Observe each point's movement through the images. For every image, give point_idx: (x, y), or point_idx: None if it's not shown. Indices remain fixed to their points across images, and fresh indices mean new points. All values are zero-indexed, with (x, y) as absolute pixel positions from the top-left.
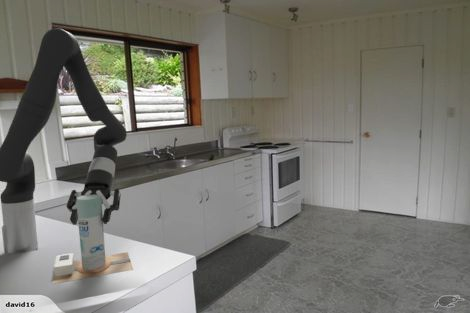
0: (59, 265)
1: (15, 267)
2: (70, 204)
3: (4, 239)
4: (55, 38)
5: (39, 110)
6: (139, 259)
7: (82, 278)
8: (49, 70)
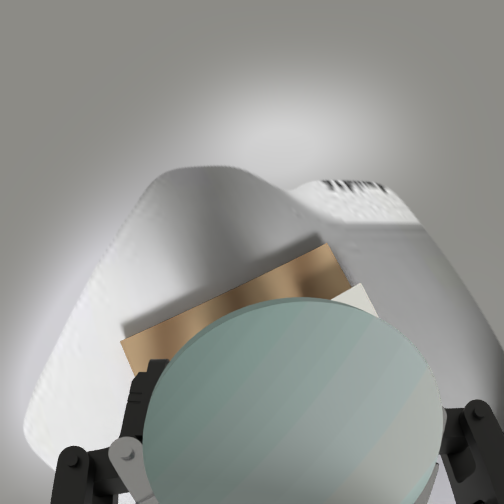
0: (352, 298)
1: (489, 363)
2: (473, 425)
3: None
4: None
5: None
6: None
7: (256, 278)
8: None
